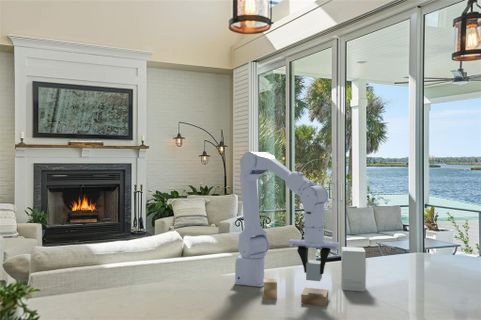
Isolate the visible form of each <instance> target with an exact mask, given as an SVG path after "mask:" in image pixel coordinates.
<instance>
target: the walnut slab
mask: <svg viewBox="0 0 481 320" xmlns="http://www.w3.org/2000/svg"><path fill="white" fill-rule="evenodd" d="M328 301H329V289H324V288H313V287H304V289H303V290H302V292H301V295H300V303H303V304H302V305H309V304H310V305H309V306H320V307H327V305H328Z"/></svg>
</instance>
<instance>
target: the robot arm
mask: <svg viewBox="0 0 481 320" xmlns="http://www.w3.org/2000/svg"><path fill="white" fill-rule="evenodd" d="M239 163H240V164H239V165H240V173H239V180H240V191H241V203H242V205H241V206H242V214H243V216H242V217H243V229H242V231H241V232H240V233H239V234H238V243H237V250H238V252H239V254H240V255H238V256H237V257H236V259H235V266H234V267H235V268H234V271H235V272H234V276H235V277H234V278H235V279H234V285H239V286H240V285H241V286H249V287H260V288H262V287H264V278H265V257H266V256H267V253H268V251H269V250H270V242H269V239H268V237H267V232H266V230H265V229H264V228H263V227H261V216H260V214H261V213H260V207H259V206H260V205H259V193H258V183H257V181H258V179H259V178H260V177H261V176H262V175H264V174H265V173H266V172H268V171H269V172H271V173H272V174H274V175H276V176H277V177H279V178H280V179H281V180H283V181H285V187H286V188H288V189H289V190H290V191H291V192H293V193H294V194H296V195H297V196H298V197H299V198H300V201H301V203H302V206H303V210H304V213H303V214H304V218H303V219H304V225H303V226H304V230H303V231H304V233H303V236H304V237H303V239H292V238H291V239H289V242H288V247H290V248H295V247H296V248H297V253H298V255H299V257H300V260H301V263H302V266H303V271H304V274H306V263H307V261H308V260H309V259H308V257H309V256H308V255H309V249H320V252H319V256H320V261H321V266H320V274H322V275H323V274H324V272H325V265H326V263H327V260H328V257H329V254H330V253H331V250H335V251H340V247H341V246H340V244H341V243H340V242H339V241H338V242H337V241H328V240H325V204H326V202H327V201H328V199H329V191H328V190H327V188H326V187H324V185H322V184H315V181H313V180H309V179H308V178H307V177H306V176H305V175H304V173H303V171H302V172H301V171H293V172H292V170H290V169H288V168H287V167H286V166H285V165H284V164H283V163H282V162H280V160H277V158H276V156H275V155H273V154H271V153H270V152H268V151H260V152H259V151H245V152H244V153H243V154H242V156H241V157H240V159H239Z"/></svg>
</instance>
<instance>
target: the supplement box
mask: <svg viewBox="0 0 481 320" xmlns="http://www.w3.org/2000/svg"><path fill="white" fill-rule="evenodd" d="M340 254H341V256H340V257H341V261H340V262H341V263H340V265H341V269H340V270H341V271H340V273H341V274H340V277H341V278H340V280H341V282H340V284H341V290H342V291H350V292H352V291H353V292H366V289H367V288H366V286H367V285H366V275H367V274H366V273H367V272H366V271H367V270H366V269H367V268H366V266H367V265H366V264H367V263H366V260H367V258H366V256H367V255H366V254H367V253H366V249H365V248H364V247H358V246H357V247H355V246H341V252H340Z"/></svg>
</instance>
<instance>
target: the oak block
mask: <svg viewBox="0 0 481 320" xmlns="http://www.w3.org/2000/svg"><path fill="white" fill-rule="evenodd" d="M263 299H264V300H278V278H265V277H264V285H263Z"/></svg>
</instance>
